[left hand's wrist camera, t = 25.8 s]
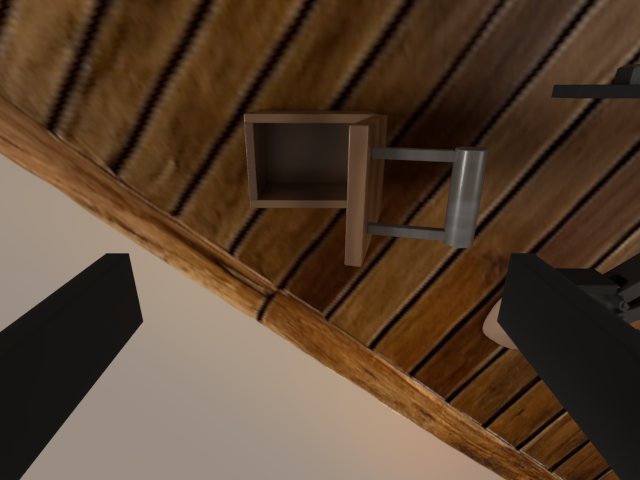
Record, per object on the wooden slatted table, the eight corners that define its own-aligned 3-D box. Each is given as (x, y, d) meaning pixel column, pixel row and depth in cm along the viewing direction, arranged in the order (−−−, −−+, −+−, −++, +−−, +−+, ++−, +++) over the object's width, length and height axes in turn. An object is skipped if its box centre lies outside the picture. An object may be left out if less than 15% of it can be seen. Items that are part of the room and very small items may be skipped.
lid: (344, 265, 25) (474, 280, 23) (348, 125, 22) (501, 128, 20) (369, 209, 37) (456, 216, 36) (375, 114, 34) (470, 115, 32)
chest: (262, 187, 46) (250, 207, 38) (258, 110, 43) (243, 113, 34) (364, 187, 46) (374, 208, 38) (368, 110, 43) (380, 114, 34)
